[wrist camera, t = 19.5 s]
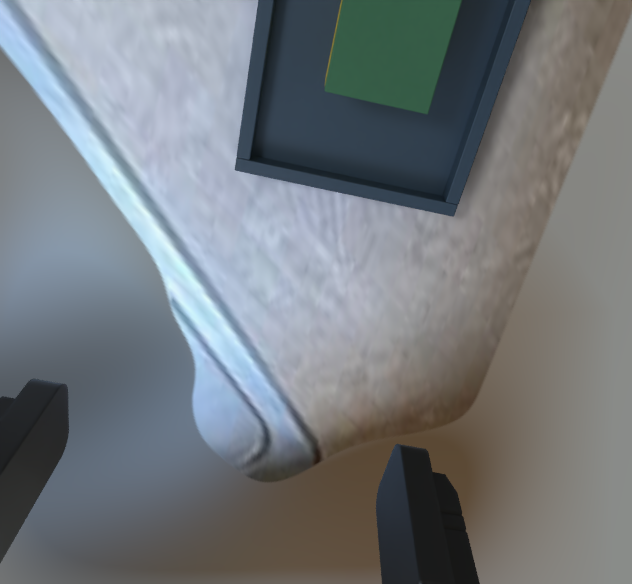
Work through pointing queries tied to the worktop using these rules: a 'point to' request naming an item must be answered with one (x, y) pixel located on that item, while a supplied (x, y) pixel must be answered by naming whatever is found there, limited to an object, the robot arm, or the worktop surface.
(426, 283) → the worktop surface
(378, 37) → the sponge
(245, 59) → the worktop surface
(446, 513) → the robot arm
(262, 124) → the tray
